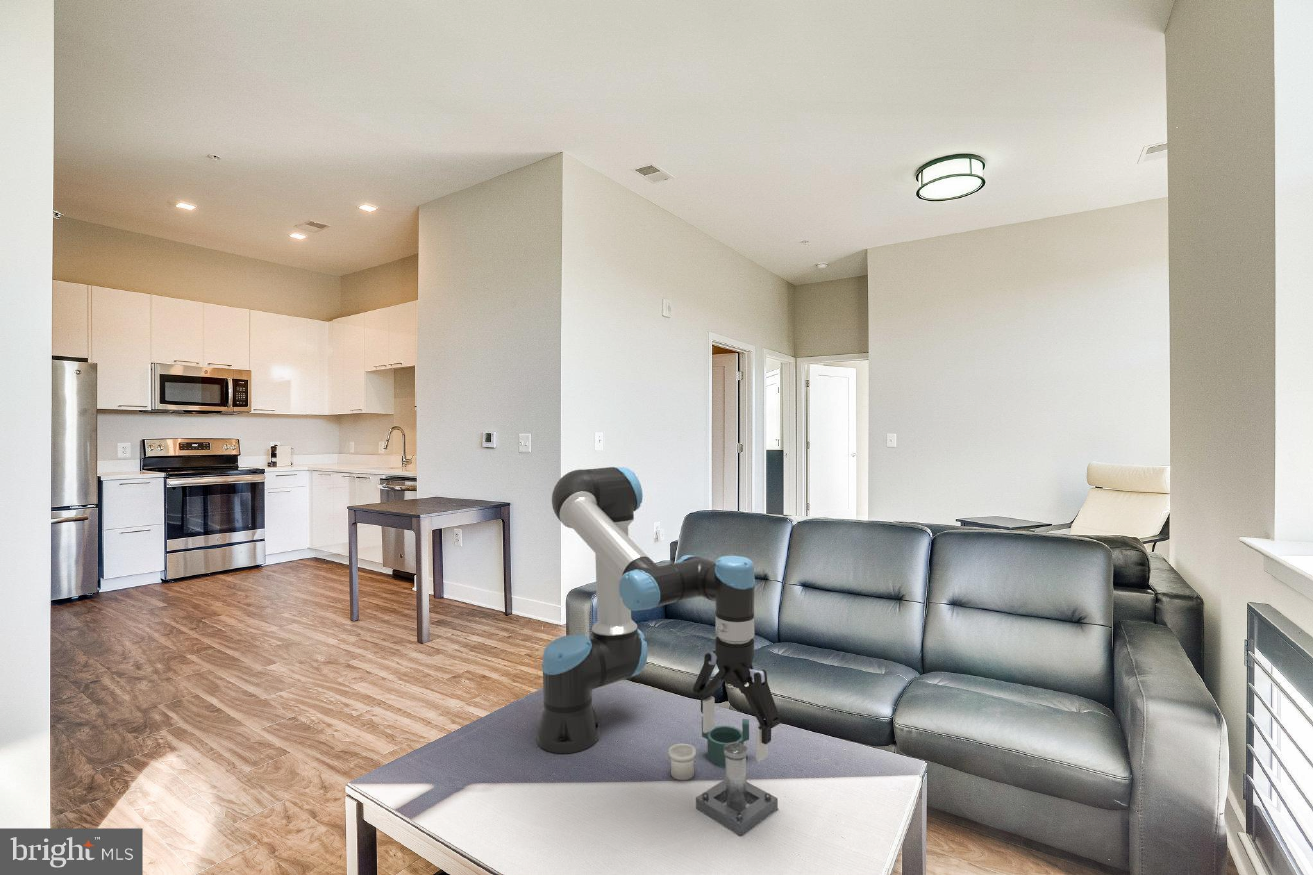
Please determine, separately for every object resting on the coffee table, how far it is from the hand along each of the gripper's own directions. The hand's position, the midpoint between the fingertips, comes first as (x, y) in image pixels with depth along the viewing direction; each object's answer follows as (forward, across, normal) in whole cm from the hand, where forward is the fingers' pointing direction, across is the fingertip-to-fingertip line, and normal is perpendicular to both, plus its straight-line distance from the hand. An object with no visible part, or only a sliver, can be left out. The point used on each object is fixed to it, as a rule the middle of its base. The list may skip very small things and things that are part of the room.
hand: (734, 743), depth 120 cm
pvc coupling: (+13, -15, +1) cm, 20 cm away
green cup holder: (+13, -13, +13) cm, 23 cm away
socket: (+13, +1, 0) cm, 13 cm away
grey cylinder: (+13, +1, 0) cm, 13 cm away
